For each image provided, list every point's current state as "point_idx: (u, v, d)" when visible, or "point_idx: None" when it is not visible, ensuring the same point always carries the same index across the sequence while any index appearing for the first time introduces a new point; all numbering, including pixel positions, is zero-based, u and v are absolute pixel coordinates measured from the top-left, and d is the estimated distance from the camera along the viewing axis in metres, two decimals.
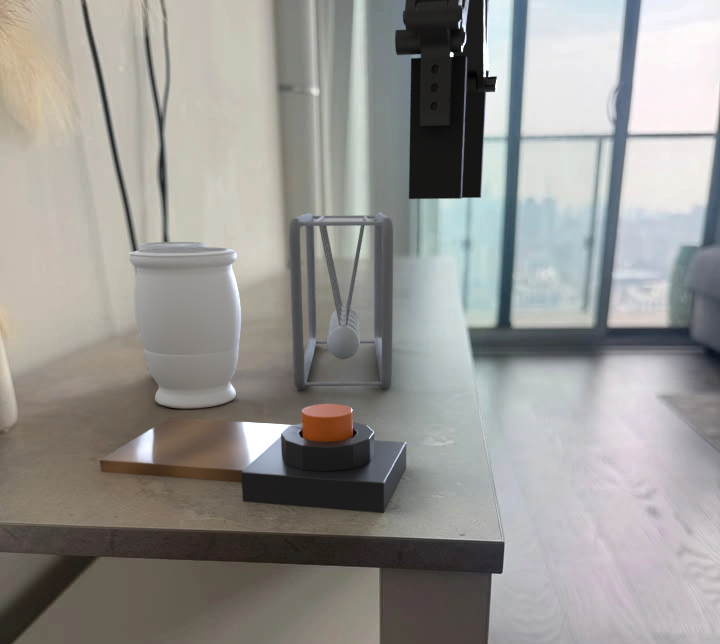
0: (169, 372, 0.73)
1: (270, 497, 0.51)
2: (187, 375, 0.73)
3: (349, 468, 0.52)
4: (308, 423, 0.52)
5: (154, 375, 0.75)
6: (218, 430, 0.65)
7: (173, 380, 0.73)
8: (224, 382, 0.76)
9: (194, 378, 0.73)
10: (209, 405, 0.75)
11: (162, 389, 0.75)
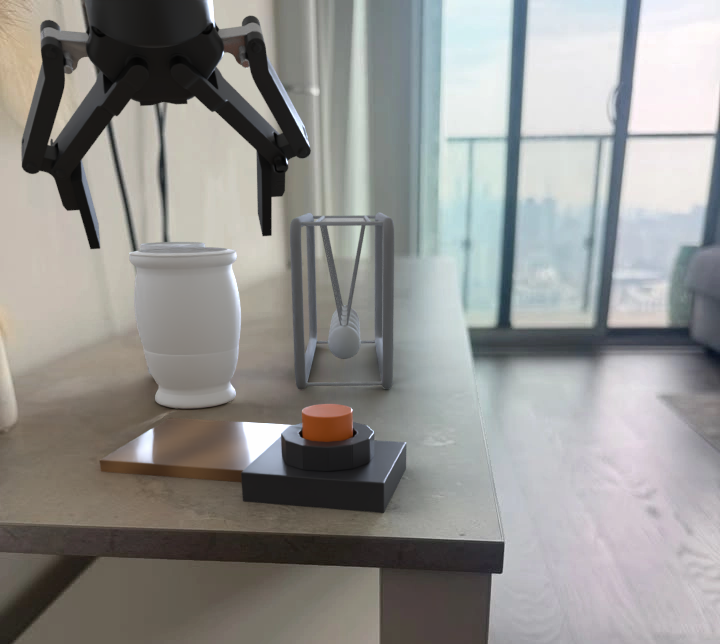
0: (169, 372, 0.73)
1: (270, 497, 0.51)
2: (187, 375, 0.73)
3: (349, 468, 0.52)
4: (308, 423, 0.52)
5: (154, 375, 0.75)
6: (218, 430, 0.65)
7: (173, 380, 0.73)
8: (224, 382, 0.76)
9: (194, 378, 0.73)
10: (209, 405, 0.75)
11: (162, 389, 0.75)
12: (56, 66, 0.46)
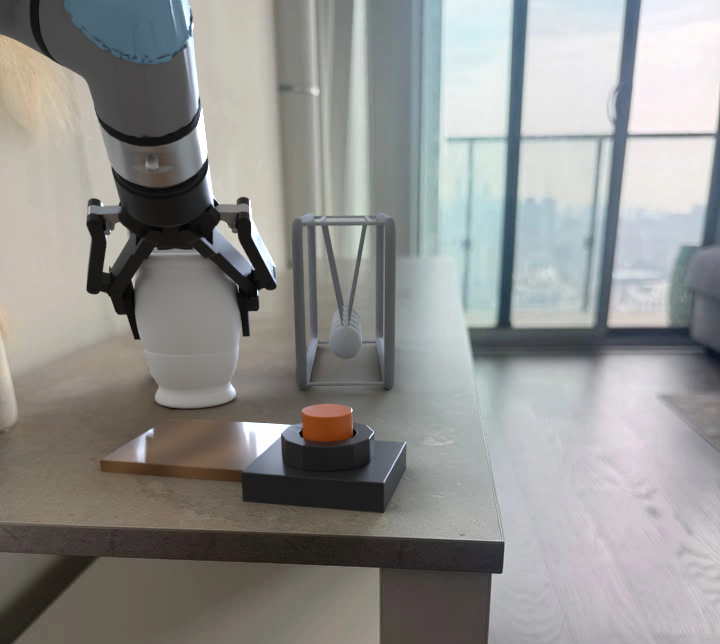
0: (169, 372, 0.73)
1: (270, 497, 0.51)
2: (187, 375, 0.73)
3: (349, 468, 0.52)
4: (308, 423, 0.52)
5: (154, 375, 0.75)
6: (218, 430, 0.65)
7: (173, 380, 0.73)
8: (224, 382, 0.76)
9: (194, 378, 0.73)
10: (209, 405, 0.75)
11: (162, 389, 0.75)
12: (98, 232, 0.63)
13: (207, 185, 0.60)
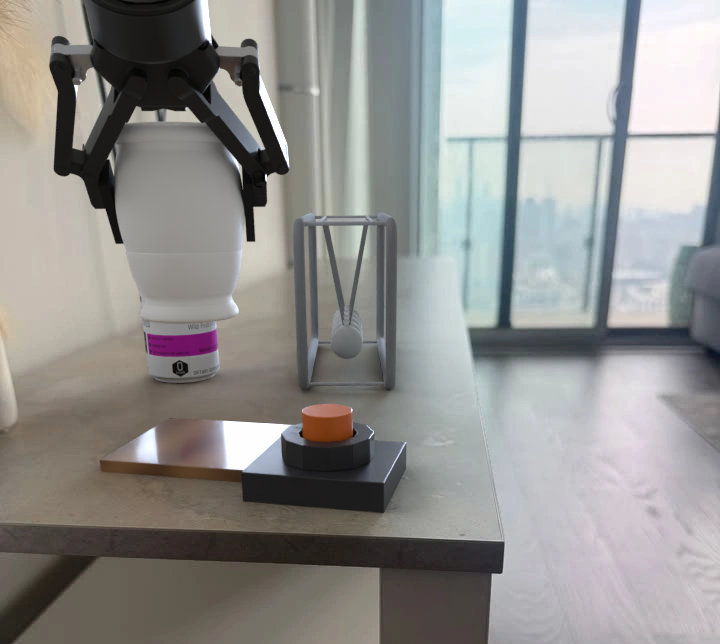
0: (157, 276, 0.59)
1: (270, 497, 0.51)
2: (179, 280, 0.59)
3: (349, 468, 0.52)
4: (308, 423, 0.52)
5: (139, 283, 0.61)
6: (218, 430, 0.65)
7: (162, 287, 0.60)
8: (225, 292, 0.62)
9: (188, 284, 0.60)
10: (206, 319, 0.61)
11: (150, 301, 0.62)
12: (65, 79, 0.50)
13: (204, 8, 0.46)
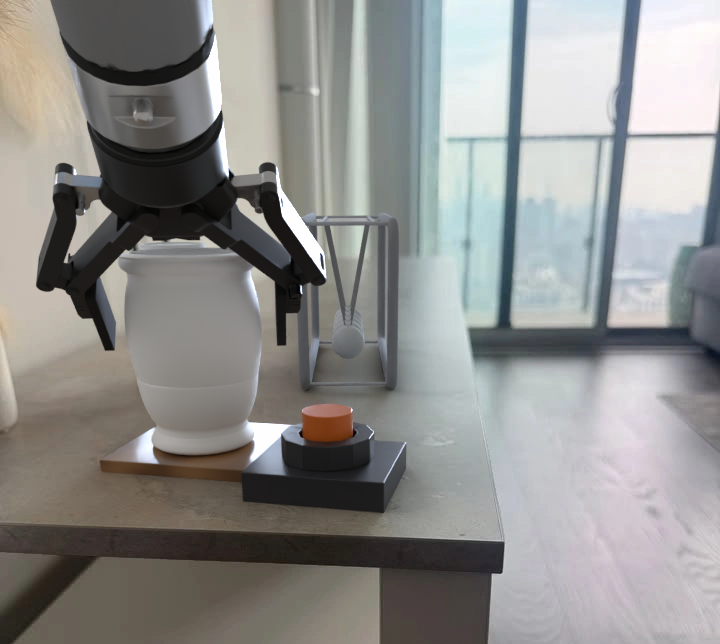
0: (170, 409, 0.56)
1: (270, 497, 0.51)
2: (193, 413, 0.56)
3: (349, 468, 0.52)
4: (308, 423, 0.52)
5: (150, 412, 0.58)
6: None
7: (175, 419, 0.57)
8: (240, 420, 0.59)
9: (202, 417, 0.57)
10: (221, 451, 0.58)
11: (161, 430, 0.59)
12: (68, 209, 0.46)
13: (221, 149, 0.43)
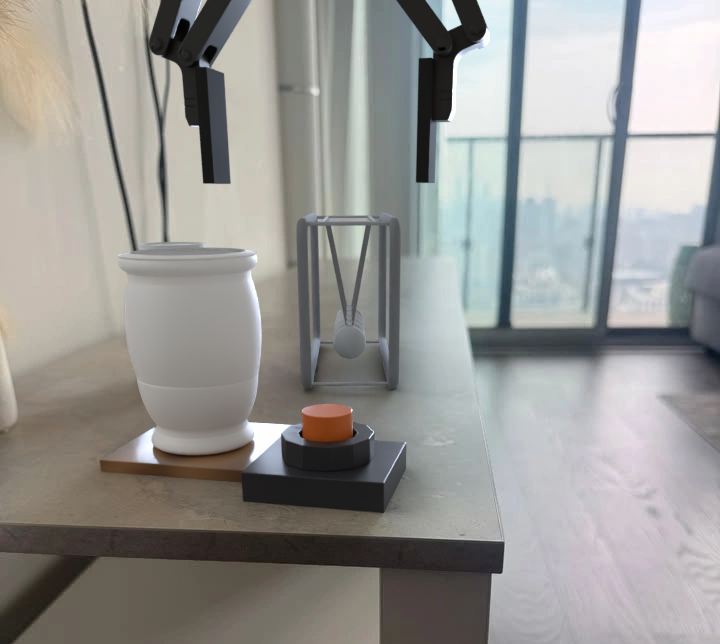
0: (170, 409, 0.56)
1: (270, 497, 0.51)
2: (193, 413, 0.56)
3: (349, 468, 0.52)
4: (308, 423, 0.52)
5: (150, 412, 0.58)
6: None
7: (175, 419, 0.57)
8: (240, 420, 0.59)
9: (202, 417, 0.57)
10: (221, 451, 0.58)
11: (161, 430, 0.59)
12: None
13: None
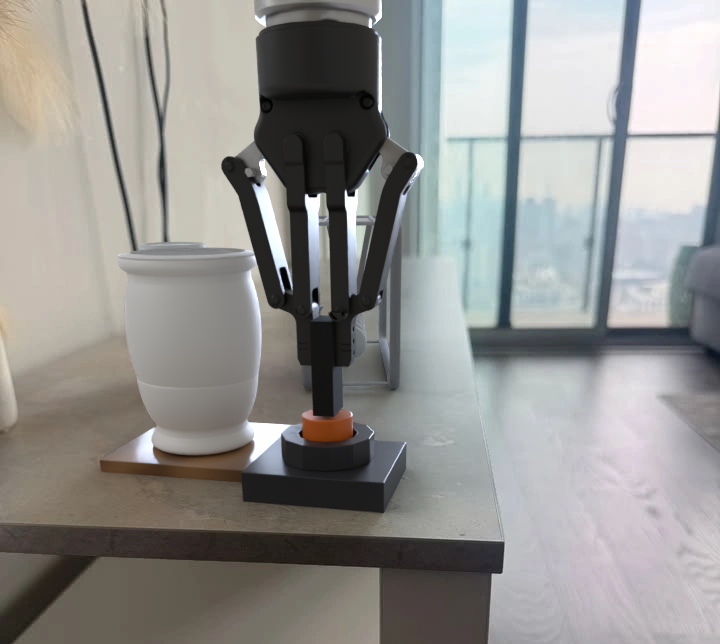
0: (170, 409, 0.56)
1: (270, 497, 0.51)
2: (193, 413, 0.56)
3: (349, 468, 0.52)
4: (308, 427, 0.52)
5: (150, 412, 0.58)
6: None
7: (175, 419, 0.57)
8: (240, 420, 0.59)
9: (202, 417, 0.57)
10: (221, 451, 0.58)
11: (161, 430, 0.59)
12: (239, 176, 0.48)
13: (372, 54, 0.43)
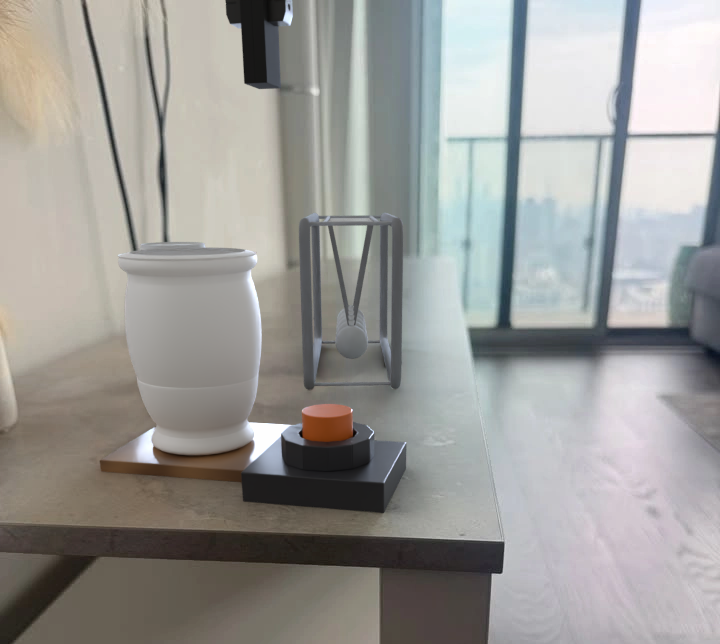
0: (170, 409, 0.56)
1: (270, 497, 0.51)
2: (193, 413, 0.56)
3: (349, 468, 0.52)
4: (308, 422, 0.52)
5: (150, 412, 0.58)
6: None
7: (175, 419, 0.57)
8: (240, 420, 0.59)
9: (202, 417, 0.57)
10: (221, 451, 0.58)
11: (161, 430, 0.59)
12: None
13: None
